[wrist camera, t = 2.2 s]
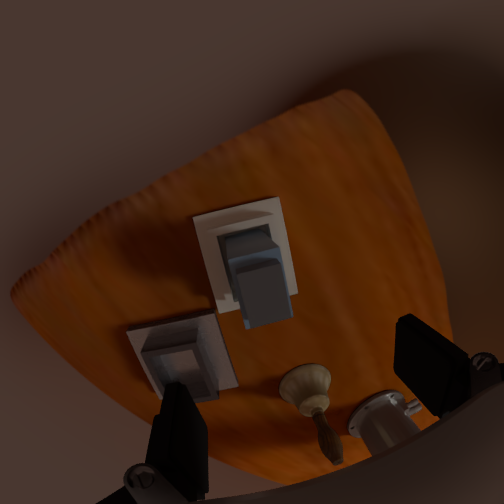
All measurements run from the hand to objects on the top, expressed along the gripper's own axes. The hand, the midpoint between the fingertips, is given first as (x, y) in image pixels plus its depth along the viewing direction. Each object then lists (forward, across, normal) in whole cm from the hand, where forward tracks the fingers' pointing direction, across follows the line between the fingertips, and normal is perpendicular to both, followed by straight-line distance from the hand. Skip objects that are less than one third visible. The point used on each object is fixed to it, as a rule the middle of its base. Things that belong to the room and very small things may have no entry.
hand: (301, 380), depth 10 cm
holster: (+23, 0, 0) cm, 23 cm away
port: (+23, +11, +12) cm, 28 cm away
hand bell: (+23, -4, +22) cm, 32 cm away
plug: (+22, 0, 0) cm, 22 cm away
